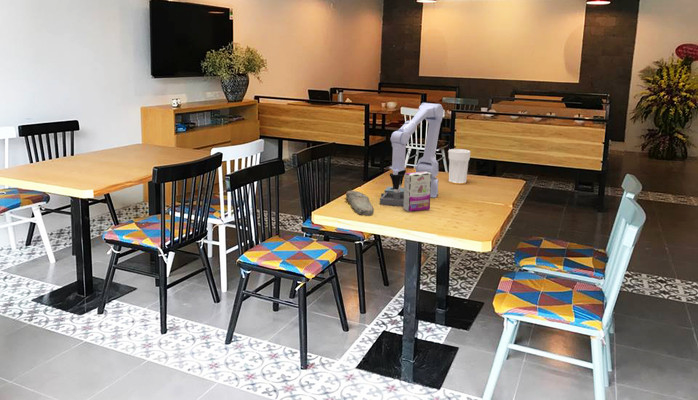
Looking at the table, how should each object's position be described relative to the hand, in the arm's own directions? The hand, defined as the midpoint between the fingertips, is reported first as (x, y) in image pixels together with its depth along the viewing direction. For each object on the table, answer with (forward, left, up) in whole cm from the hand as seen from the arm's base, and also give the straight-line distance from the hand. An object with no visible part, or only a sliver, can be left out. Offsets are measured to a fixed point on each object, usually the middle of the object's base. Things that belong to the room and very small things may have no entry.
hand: (397, 187), depth 271 cm
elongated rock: (+15, +11, -8) cm, 20 cm away
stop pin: (0, 0, -6) cm, 6 cm away
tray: (0, 0, -7) cm, 7 cm away
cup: (-22, -55, -7) cm, 60 cm away
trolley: (+2, -12, -7) cm, 14 cm away
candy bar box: (-10, +10, -7) cm, 16 cm away
